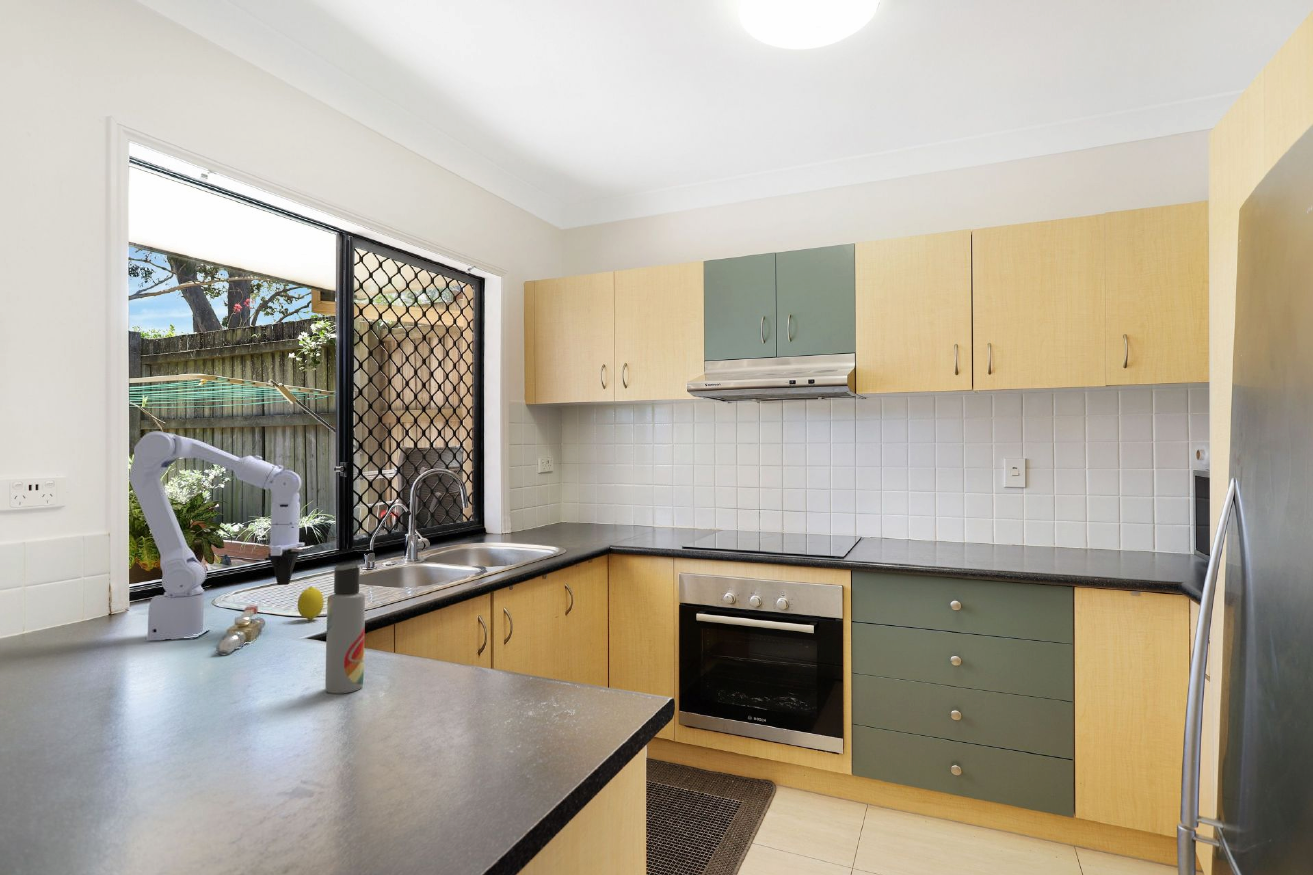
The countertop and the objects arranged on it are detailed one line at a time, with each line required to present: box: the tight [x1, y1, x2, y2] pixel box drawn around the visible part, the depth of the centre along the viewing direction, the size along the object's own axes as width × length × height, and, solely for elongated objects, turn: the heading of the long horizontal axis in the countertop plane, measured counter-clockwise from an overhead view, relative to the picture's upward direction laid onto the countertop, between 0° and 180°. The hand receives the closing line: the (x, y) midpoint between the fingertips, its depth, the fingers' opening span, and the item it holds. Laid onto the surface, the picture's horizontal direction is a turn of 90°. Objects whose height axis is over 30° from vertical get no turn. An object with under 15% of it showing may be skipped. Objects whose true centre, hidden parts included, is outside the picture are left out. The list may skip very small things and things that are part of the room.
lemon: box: [297, 586, 324, 621], centre depth 166 cm, size 6×6×8 cm
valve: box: [216, 616, 266, 655], centre depth 145 cm, size 22×4×4 cm, turn 15°
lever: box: [234, 605, 259, 625], centre depth 150 cm, size 14×3×1 cm, turn 23°
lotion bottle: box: [324, 563, 366, 695], centre depth 114 cm, size 6×6×20 cm
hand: (283, 584), depth 157 cm, fingers closed
